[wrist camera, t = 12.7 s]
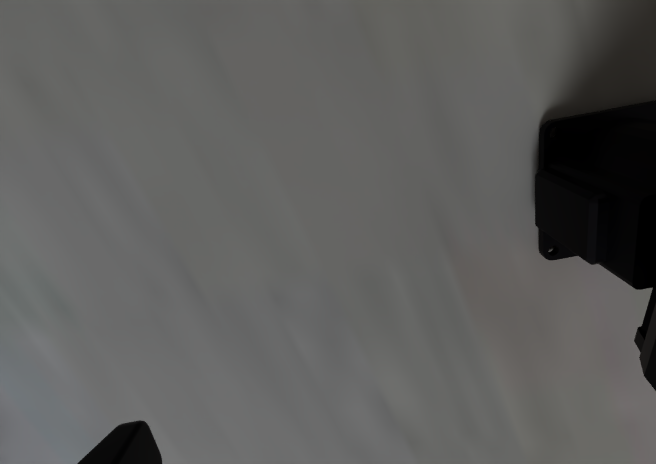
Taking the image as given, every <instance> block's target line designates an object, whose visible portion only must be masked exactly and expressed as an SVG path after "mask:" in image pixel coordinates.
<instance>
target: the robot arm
mask: <svg viewBox="0 0 656 464" xmlns="http://www.w3.org/2000/svg"><path fill="white" fill-rule="evenodd" d="M555 127H556V130H557V131H556V134H555V135H554V136H553V137H550V131H551V130H552V129H553V128H555ZM535 225H536V226H537V227H538V228H539V252H540V254H541V255H542V256H543V257H545V258H546V259H548V260H557V259H563V258H568V257H573V256H579V257H581V258H582V259H584V260H585V261H586V262H588V263H589V264H592V265H594V264H600V265H601V266H603V267H604V268H606V269H607V270H608V271H610V272H611V273H613V274H614V275H616V276H617V277H619V278H620V279H622V280H623V281H625V282H626V283H628V284H629V285H630V286H632V287H633V288H635V289H639V290H641V289H646V288H652V287H653V290H652V293H651V296H650V300H649V303H648V307H647V310H646V314H645V317H644V320H643V324H642V326H641V327H638V329H637V332H636V336H635V339H634V341H635V343H636V345H637V347H638V348H639V350H640V352H641V354H640V357H639V358H640V362H641V366H642V370H643V374H644V376H645V378H646V379H647V380H648V382H649V383H650V384H651V385H652V387H653V388H654V389H655V391H656V101H650V102H645V103H640V104H634V105H629V106H623V107H618V108H613V109H607V110H602V111H597V112H591V113H586V114H581V115H575V116H570V117H564V118H559V119H554V120H550V121H547V122H546V123H544V124H543V125H542V127H541V129H540V132H539V170H538V172H537V174H536V175H535ZM552 246H554V249H553V250H552V251H551V252H548V251H549V248H550V247H552ZM77 464H162V458H161V454H160V451H159V449H158V447H157V444H156V442H155V440H154V437H153V435H152V433H151V430H150V428H149V426H148V424H147V423H146V422H145V421H134V422H129V423H124V424H121V425H119V426H117V427H116V428H115V429H114V430H113V431H112V432H111V433H109V434H108V435H107V436H106V437H105V438H104V439H103V440H102V441H101V442H100V443H99V444H98V445H97V446H96V447H95V448H93V449H92V450H91V451H90V452H89V453H88V454H87V455H86V456H85V457H84V458H83V459H82V460H81V461H80V462H79V463H77Z"/></svg>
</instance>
